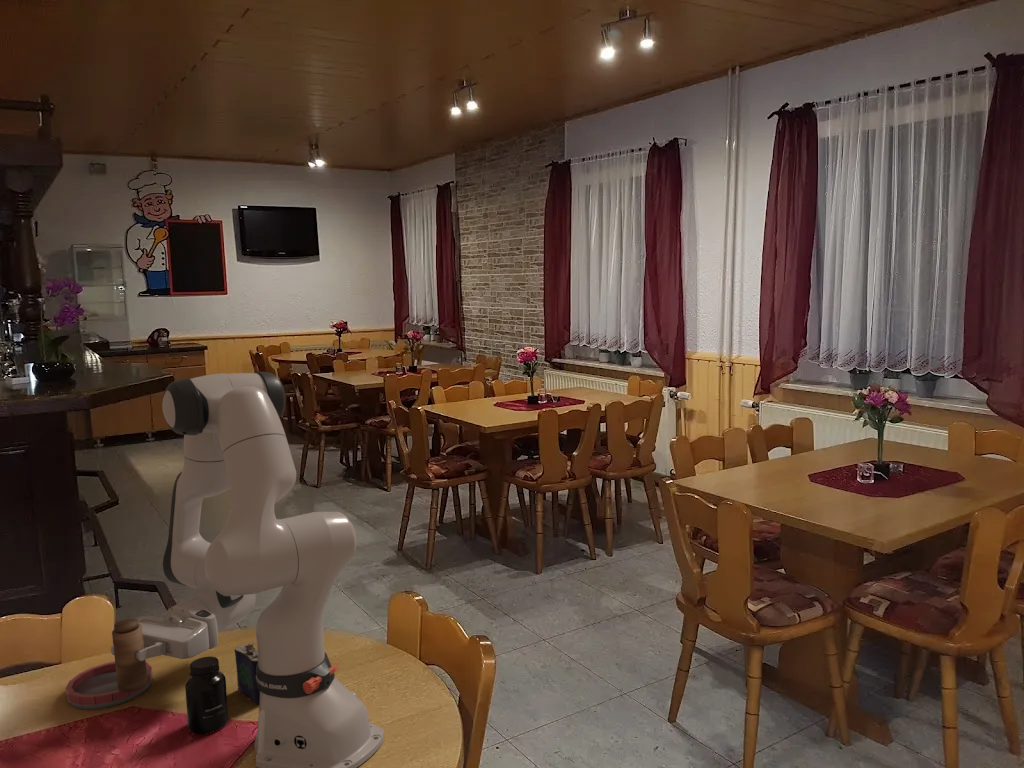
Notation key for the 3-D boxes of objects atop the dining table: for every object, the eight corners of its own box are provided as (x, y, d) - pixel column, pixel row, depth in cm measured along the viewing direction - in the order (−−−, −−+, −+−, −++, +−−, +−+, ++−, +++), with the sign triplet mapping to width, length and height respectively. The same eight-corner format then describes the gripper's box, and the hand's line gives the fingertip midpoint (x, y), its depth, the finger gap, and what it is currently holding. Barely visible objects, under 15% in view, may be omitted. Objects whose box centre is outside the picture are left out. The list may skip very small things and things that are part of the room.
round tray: (168, 679, 158) (167, 667, 158) (101, 716, 145) (100, 703, 145) (118, 666, 165) (117, 655, 165) (50, 700, 152) (49, 688, 151)
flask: (235, 691, 153) (231, 639, 151) (249, 685, 155) (245, 634, 154) (257, 707, 146) (253, 653, 145) (272, 701, 148) (268, 648, 147)
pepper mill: (153, 681, 146) (147, 619, 145) (130, 694, 142) (123, 630, 141) (135, 677, 149) (129, 616, 147) (112, 689, 144) (105, 626, 143)
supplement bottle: (215, 737, 137) (209, 672, 135) (180, 734, 138) (174, 670, 137) (236, 716, 143) (231, 654, 142) (203, 713, 145) (197, 652, 143)
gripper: (148, 603, 160) (86, 629, 148) (221, 616, 151) (161, 645, 139) (151, 632, 161) (90, 661, 149) (224, 647, 152) (165, 679, 140)
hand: (125, 654), depth 144 cm, fingers closed on pepper mill, 5 cm apart
